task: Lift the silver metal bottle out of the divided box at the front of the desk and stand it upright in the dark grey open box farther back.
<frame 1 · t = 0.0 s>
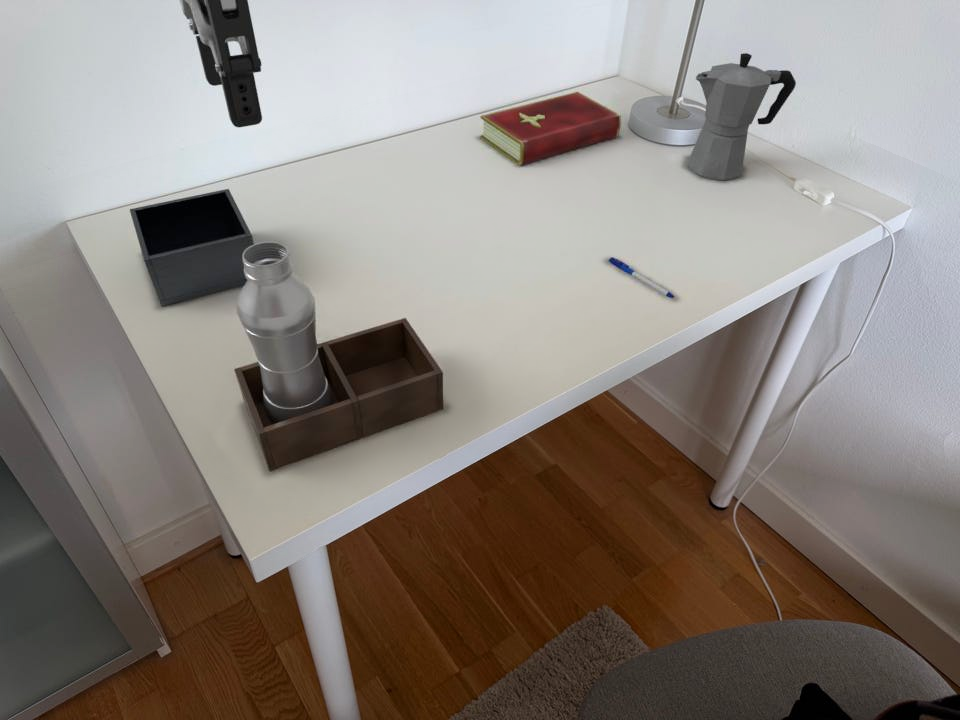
hand: (233, 102, 54), 30 cm above the table, tool pointing down, fingers open, 8 cm apart
dark grey open box: (203, 267, 88), on the table
ballpoint pen: (639, 281, 90), on the table
silver metal bottle: (303, 420, 69), resting on divided box
coffeepot: (720, 168, 113), on the table
hardcover book: (549, 139, 119), on the table
divided box: (344, 407, 71), on the table
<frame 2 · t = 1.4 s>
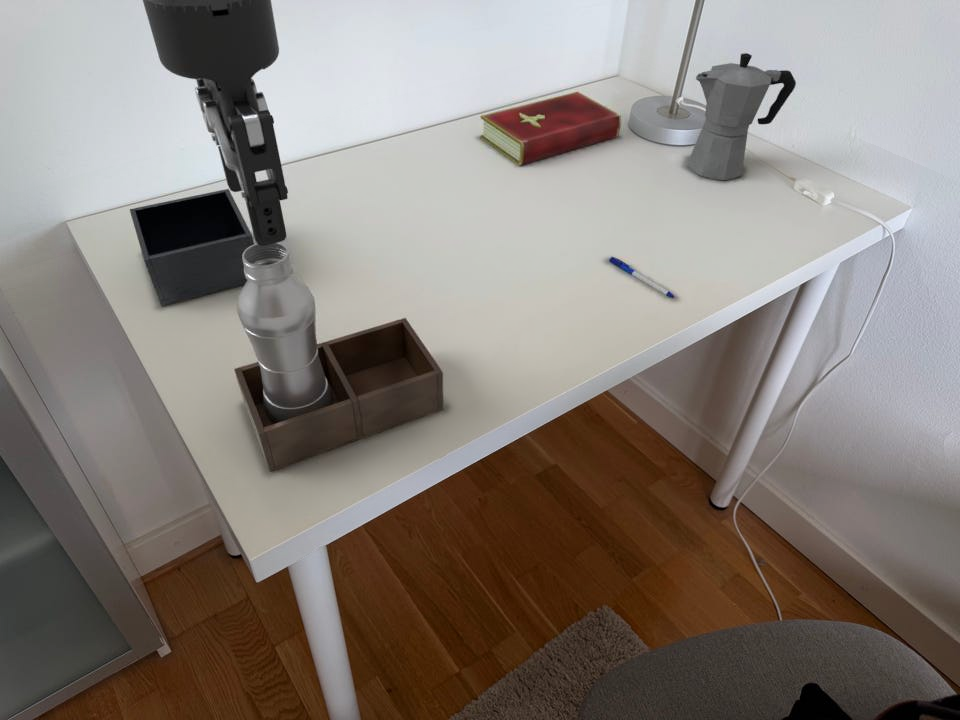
hand: (256, 213, 53), 24 cm above the table, tool pointing down, fingers open, 8 cm apart
nothing on the table moved.
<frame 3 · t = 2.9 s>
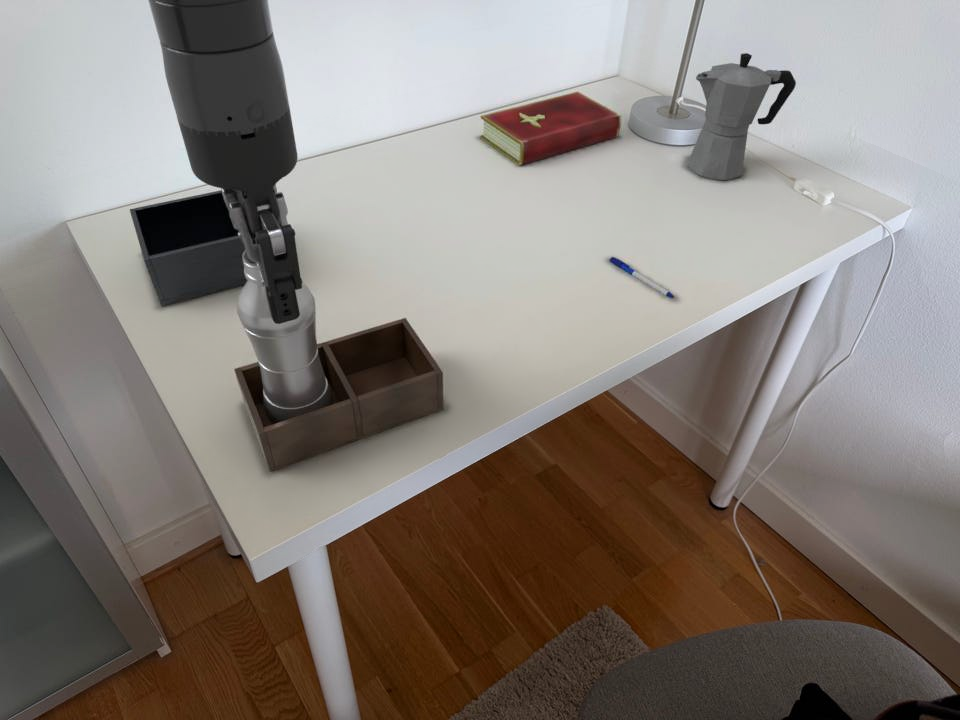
hand: (275, 296, 59), 16 cm above the table, tool pointing down, fingers closed on silver metal bottle, 6 cm apart
silver metal bottle: (303, 420, 69), resting on divided box, touching gripper
everything else where it was.
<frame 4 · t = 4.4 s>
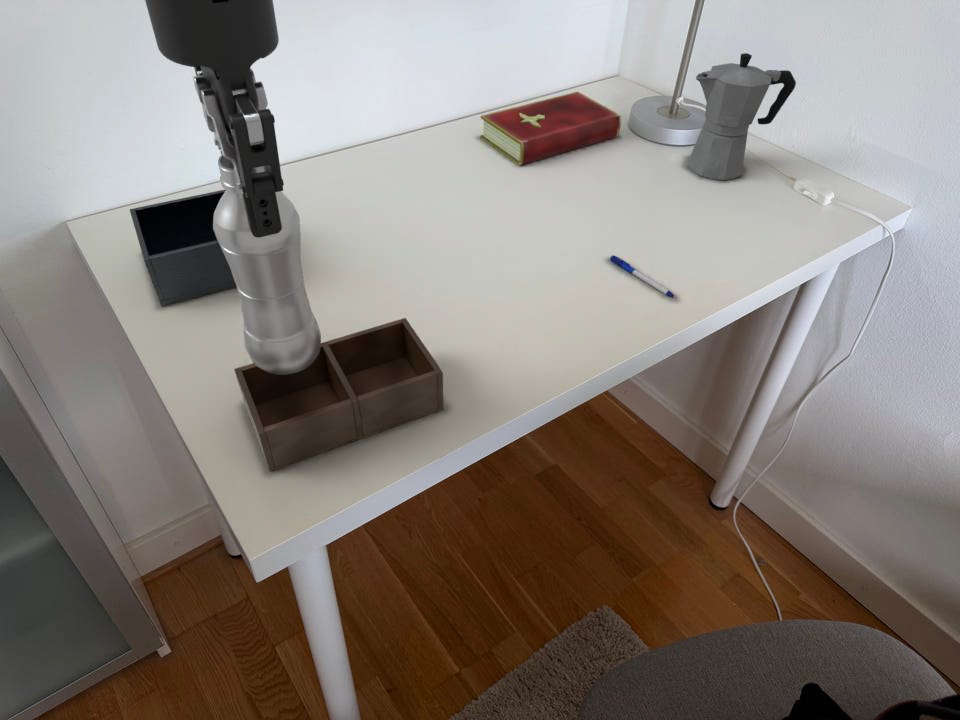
hand: (255, 211, 53), 24 cm above the table, tool pointing down, fingers closed on silver metal bottle, 6 cm apart
silver metal bottle: (287, 361, 64), point 8 cm above the table, touching gripper
everything else where it was.
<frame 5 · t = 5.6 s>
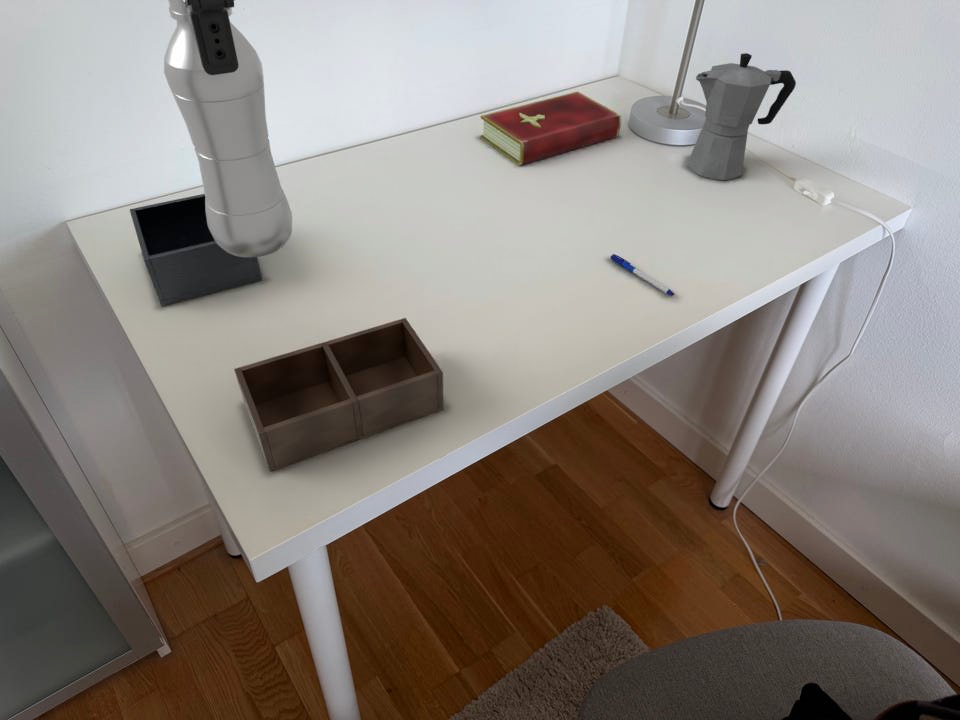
hand: (211, 54, 47), 35 cm above the table, tool pointing down, fingers closed on silver metal bottle, 6 cm apart
silver metal bottle: (256, 247, 58), point 19 cm above the table, touching gripper
everything else where it was.
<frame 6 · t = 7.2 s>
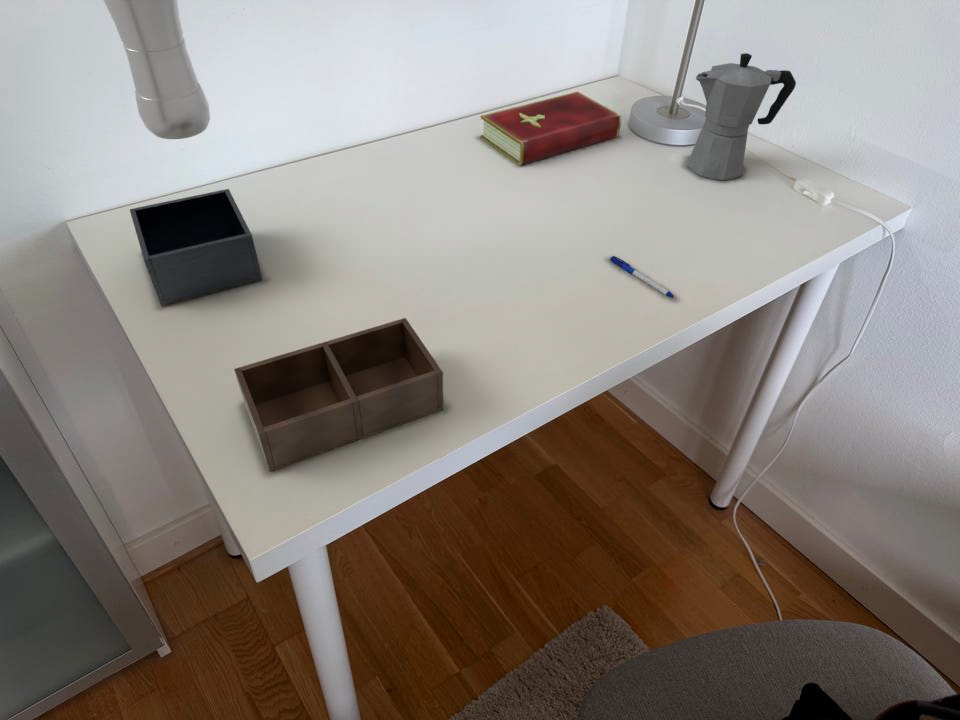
silver metal bottle: (181, 134, 71), point 20 cm above the table, touching gripper
everything else where it was.
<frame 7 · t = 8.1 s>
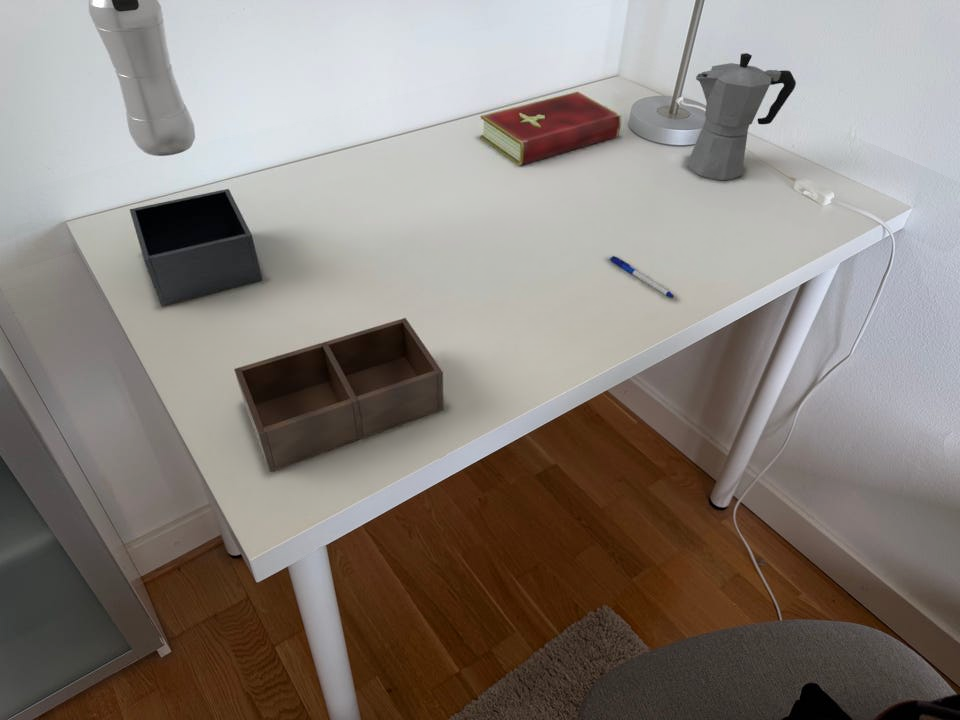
silver metal bottle: (169, 151, 77), point 16 cm above the table, touching gripper
everything else where it was.
when the fingers open (16 cm above the table, at t = 11.6 s): silver metal bottle stays where it is, resting on dark grey open box.
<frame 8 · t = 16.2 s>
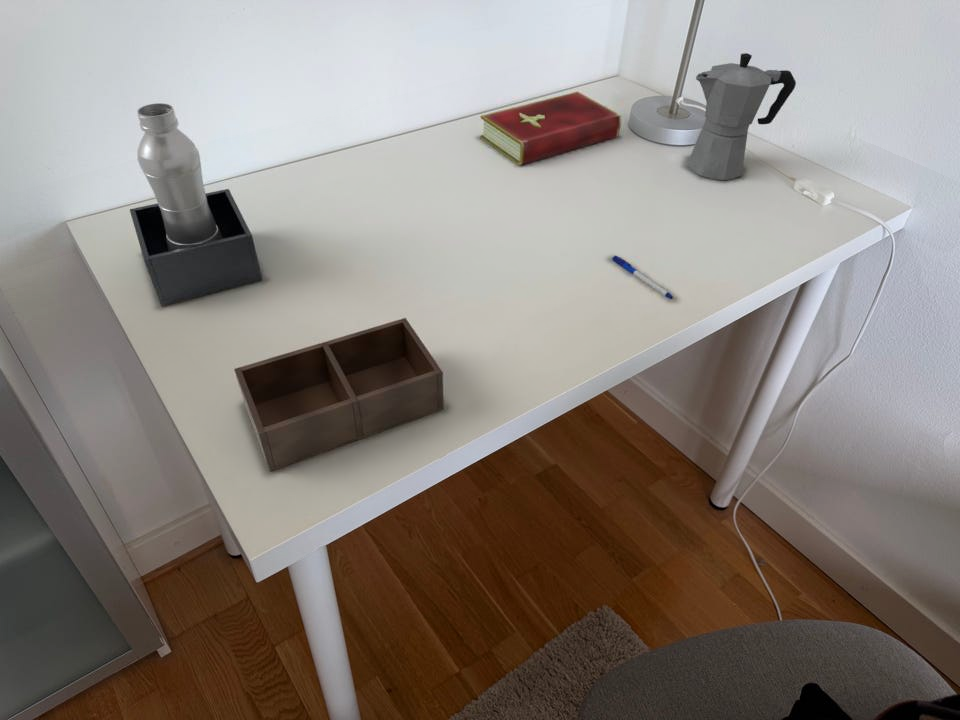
silver metal bottle: (202, 264, 88), point 1 cm above the table, touching dark grey open box
everything else where it was.
at the end: silver metal bottle inside the target area in the dark grey open box (0.2 cm from its centre), point 0.6 cm above the dark grey open box's base; silver metal bottle tilted 0°; the gripper is holding nothing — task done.
